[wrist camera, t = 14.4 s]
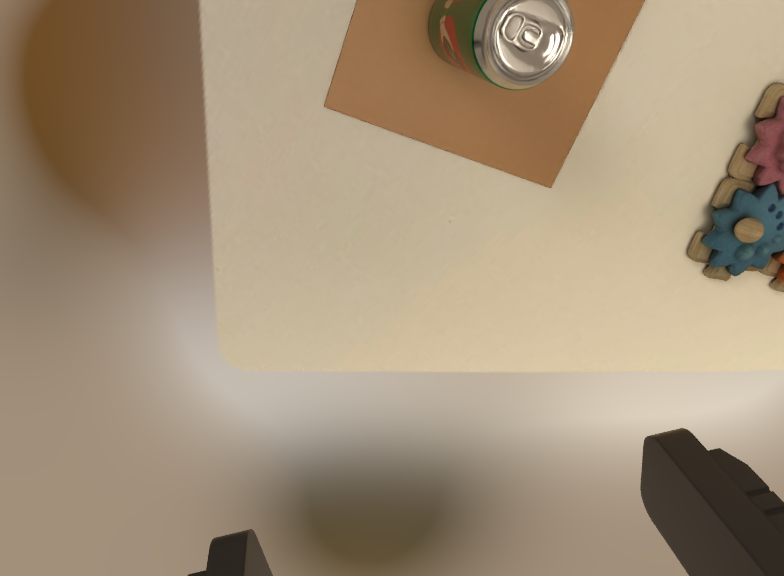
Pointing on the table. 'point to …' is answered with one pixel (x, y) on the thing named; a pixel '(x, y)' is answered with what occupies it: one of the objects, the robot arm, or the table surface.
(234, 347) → the table surface
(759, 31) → the table surface
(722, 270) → the gear puzzle
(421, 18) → the kraft paper
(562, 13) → the soda can
